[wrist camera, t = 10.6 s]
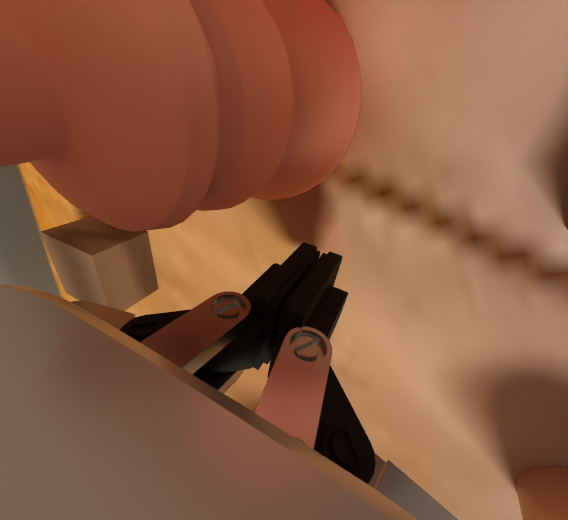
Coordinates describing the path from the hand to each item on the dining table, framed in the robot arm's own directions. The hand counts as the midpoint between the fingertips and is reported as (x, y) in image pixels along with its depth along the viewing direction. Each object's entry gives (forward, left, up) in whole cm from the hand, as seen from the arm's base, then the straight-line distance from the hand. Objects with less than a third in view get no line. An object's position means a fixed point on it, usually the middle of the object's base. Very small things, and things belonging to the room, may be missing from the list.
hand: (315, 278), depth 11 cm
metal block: (+15, +6, -2) cm, 16 cm away
